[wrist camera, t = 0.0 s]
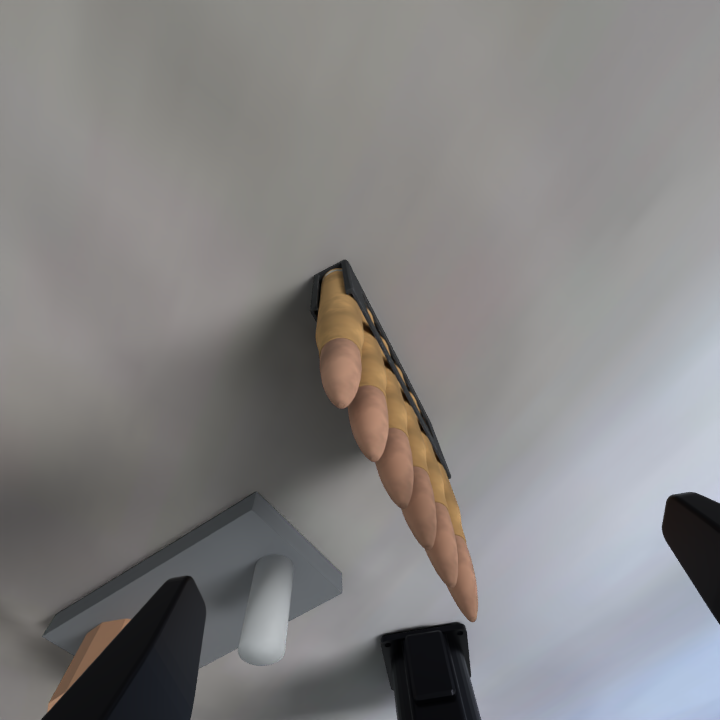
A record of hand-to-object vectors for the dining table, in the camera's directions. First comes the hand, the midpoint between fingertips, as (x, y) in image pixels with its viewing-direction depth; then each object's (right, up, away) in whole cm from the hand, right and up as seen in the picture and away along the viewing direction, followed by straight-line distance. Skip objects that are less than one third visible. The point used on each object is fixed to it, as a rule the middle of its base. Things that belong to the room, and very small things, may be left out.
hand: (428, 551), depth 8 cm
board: (-12, -12, +21) cm, 27 cm away
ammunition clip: (0, +4, +15) cm, 15 cm away
